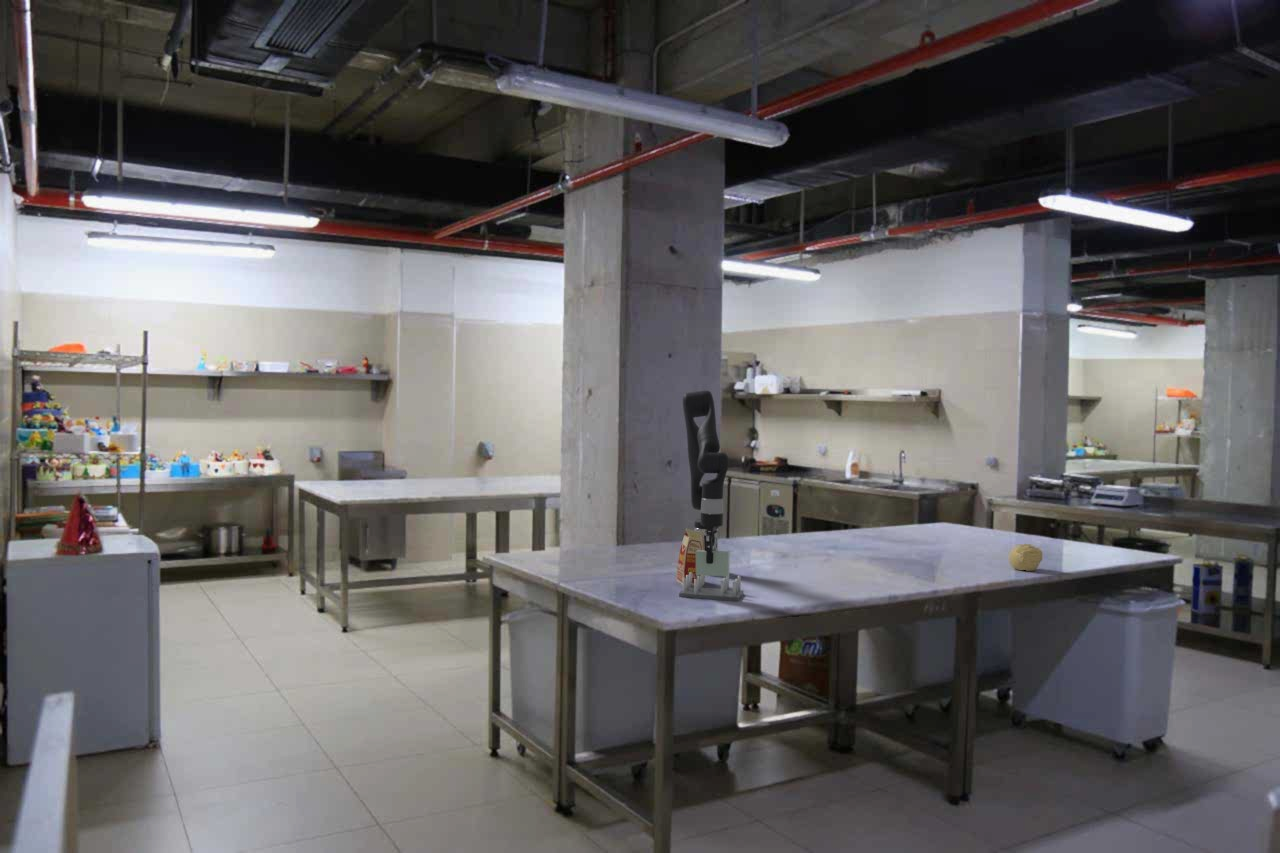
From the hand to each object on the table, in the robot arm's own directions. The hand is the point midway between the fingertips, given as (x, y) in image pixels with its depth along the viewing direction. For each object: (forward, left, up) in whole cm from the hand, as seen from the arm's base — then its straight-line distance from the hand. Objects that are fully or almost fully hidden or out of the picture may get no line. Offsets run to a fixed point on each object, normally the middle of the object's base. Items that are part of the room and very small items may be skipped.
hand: (710, 562), depth 303 cm
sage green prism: (0, +1, -4) cm, 4 cm away
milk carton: (-22, -11, -12) cm, 27 cm away
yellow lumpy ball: (-99, +113, -12) cm, 151 cm away
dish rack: (-3, 0, -12) cm, 12 cm away
